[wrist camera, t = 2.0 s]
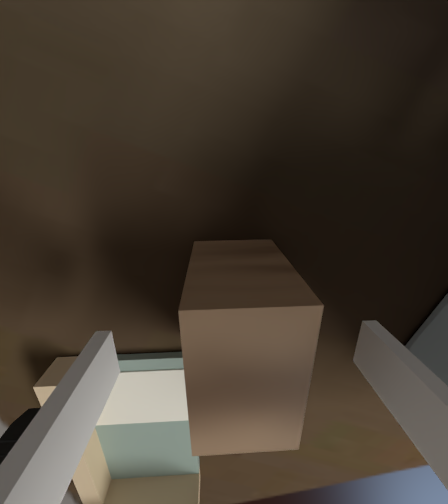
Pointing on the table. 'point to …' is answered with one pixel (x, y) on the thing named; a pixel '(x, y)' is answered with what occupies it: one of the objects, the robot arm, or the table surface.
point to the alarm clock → (433, 341)
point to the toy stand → (137, 434)
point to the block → (246, 347)
